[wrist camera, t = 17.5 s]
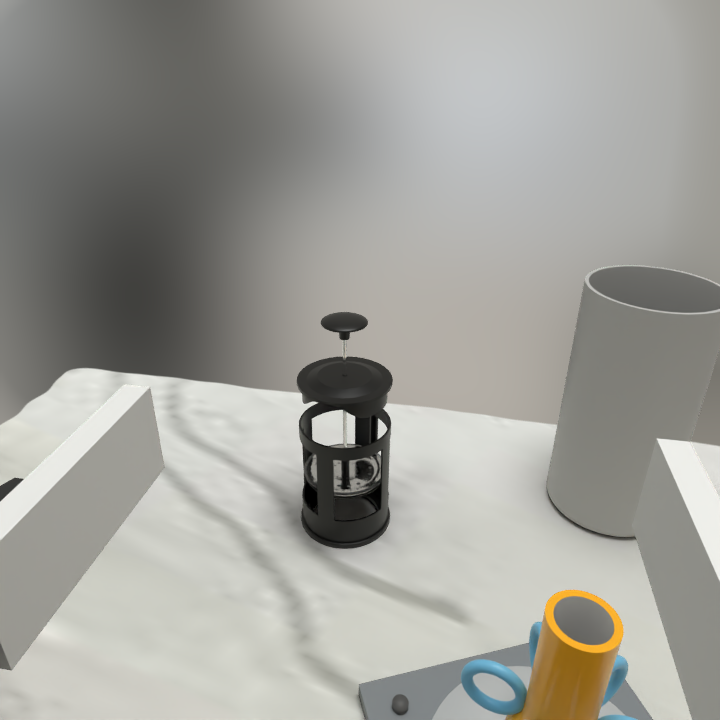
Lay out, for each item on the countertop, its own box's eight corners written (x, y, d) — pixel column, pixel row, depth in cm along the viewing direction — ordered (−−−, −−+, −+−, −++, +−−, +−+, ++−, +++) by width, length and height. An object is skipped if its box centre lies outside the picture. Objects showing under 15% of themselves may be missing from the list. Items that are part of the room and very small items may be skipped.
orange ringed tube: (548, 670, 46) (582, 520, 39) (672, 798, 38) (742, 639, 31) (419, 756, 40) (432, 599, 34) (534, 928, 33) (583, 769, 26)
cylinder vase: (686, 504, 66) (757, 290, 55) (629, 560, 59) (696, 327, 47) (584, 452, 75) (626, 257, 63) (523, 495, 67) (558, 284, 56)
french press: (365, 565, 58) (368, 353, 48) (281, 535, 62) (266, 331, 51) (408, 492, 68) (418, 301, 57) (333, 470, 71) (329, 286, 60)
